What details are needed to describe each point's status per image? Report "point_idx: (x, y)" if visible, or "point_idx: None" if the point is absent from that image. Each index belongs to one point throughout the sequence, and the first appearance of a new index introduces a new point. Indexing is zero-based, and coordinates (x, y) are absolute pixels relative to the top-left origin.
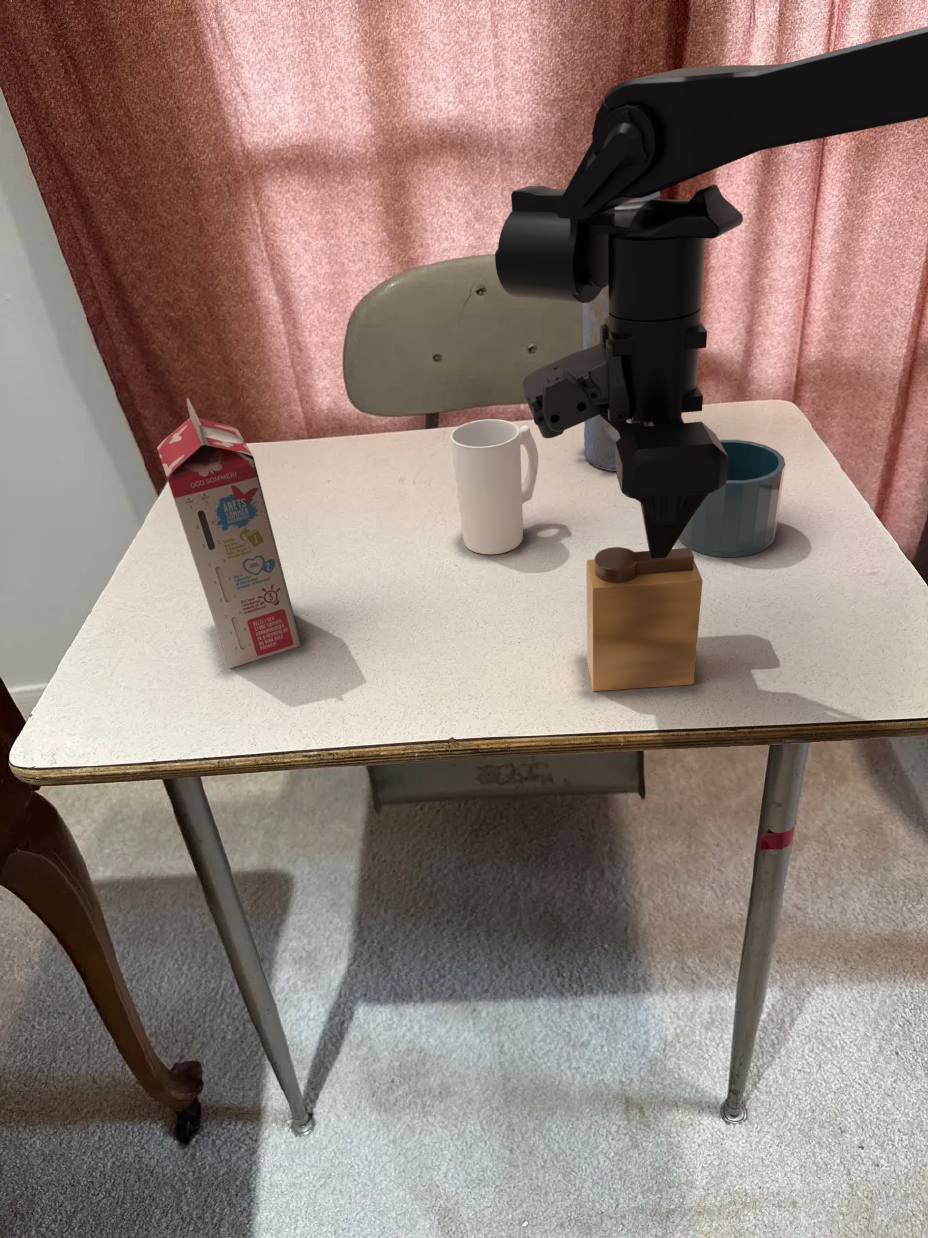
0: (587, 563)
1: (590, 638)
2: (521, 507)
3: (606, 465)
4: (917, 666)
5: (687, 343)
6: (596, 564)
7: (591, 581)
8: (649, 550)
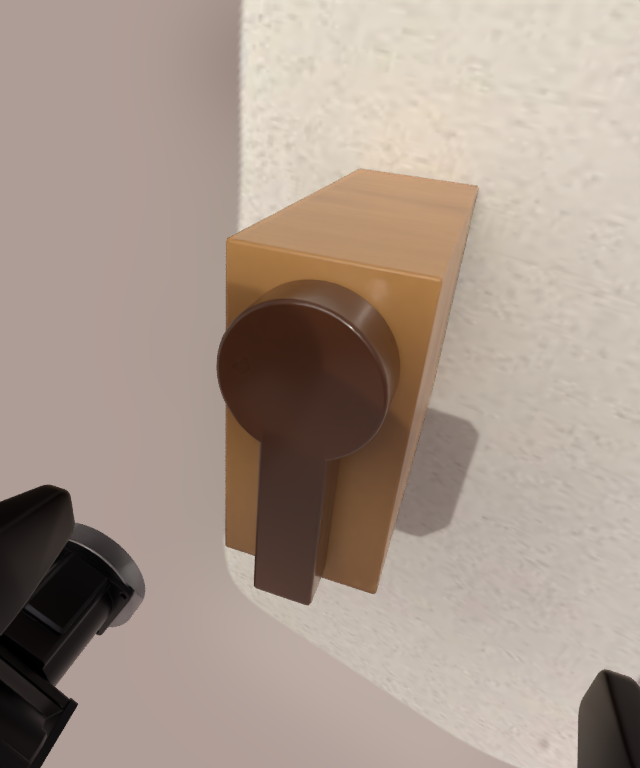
0: (411, 273)
1: (376, 196)
2: None
3: None
4: (310, 640)
5: None
6: (281, 297)
7: (269, 247)
8: (6, 500)
